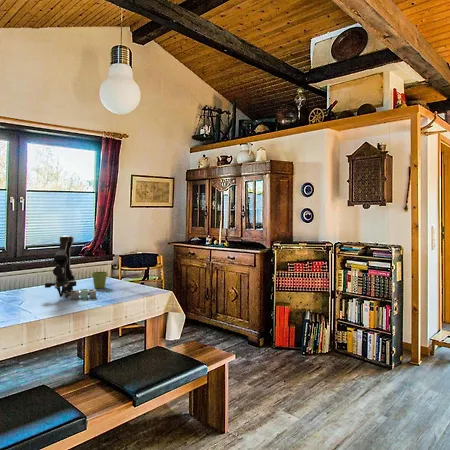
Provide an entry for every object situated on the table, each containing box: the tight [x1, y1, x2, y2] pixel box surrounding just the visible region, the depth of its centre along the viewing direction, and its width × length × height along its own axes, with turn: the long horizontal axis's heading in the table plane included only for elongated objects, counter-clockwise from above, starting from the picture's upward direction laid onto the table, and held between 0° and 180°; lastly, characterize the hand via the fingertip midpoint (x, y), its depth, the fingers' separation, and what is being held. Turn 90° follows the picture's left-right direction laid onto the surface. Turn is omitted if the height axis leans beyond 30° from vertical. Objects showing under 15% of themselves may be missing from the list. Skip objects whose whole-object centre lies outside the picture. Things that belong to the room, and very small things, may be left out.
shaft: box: [64, 290, 89, 299], centre depth 255 cm, size 16×4×4 cm, turn 111°
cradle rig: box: [70, 288, 97, 301], centre depth 256 cm, size 16×8×5 cm, turn 111°
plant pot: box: [91, 271, 109, 289], centre depth 289 cm, size 12×12×11 cm
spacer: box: [79, 288, 89, 300], centre depth 256 cm, size 4×6×6 cm
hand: (61, 297), depth 251 cm, fingers closed
